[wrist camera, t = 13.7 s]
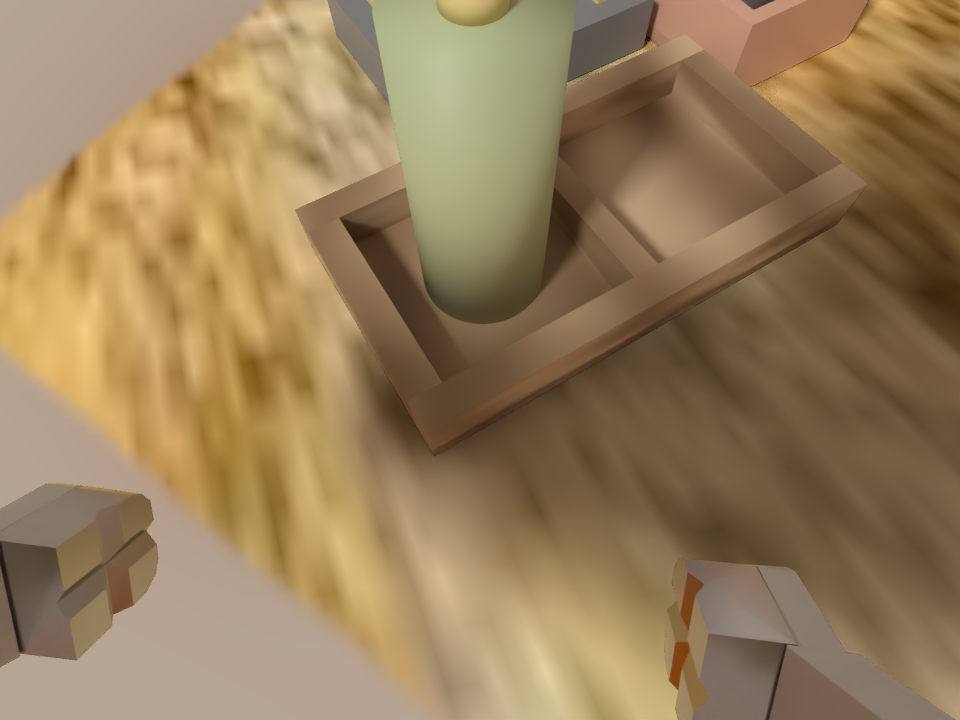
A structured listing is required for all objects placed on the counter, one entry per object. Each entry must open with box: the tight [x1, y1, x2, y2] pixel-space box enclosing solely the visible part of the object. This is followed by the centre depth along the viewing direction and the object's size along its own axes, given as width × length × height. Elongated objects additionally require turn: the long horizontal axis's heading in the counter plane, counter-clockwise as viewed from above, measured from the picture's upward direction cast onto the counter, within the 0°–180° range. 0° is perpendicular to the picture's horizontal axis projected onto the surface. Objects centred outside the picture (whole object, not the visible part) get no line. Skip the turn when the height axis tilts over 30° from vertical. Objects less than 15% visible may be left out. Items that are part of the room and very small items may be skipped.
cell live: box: [372, 0, 576, 324], centre depth 17 cm, size 4×4×11 cm
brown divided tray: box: [295, 34, 868, 456], centre depth 22 cm, size 18×10×2 cm, turn 121°
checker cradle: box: [328, 0, 654, 104], centre depth 27 cm, size 12×9×3 cm
